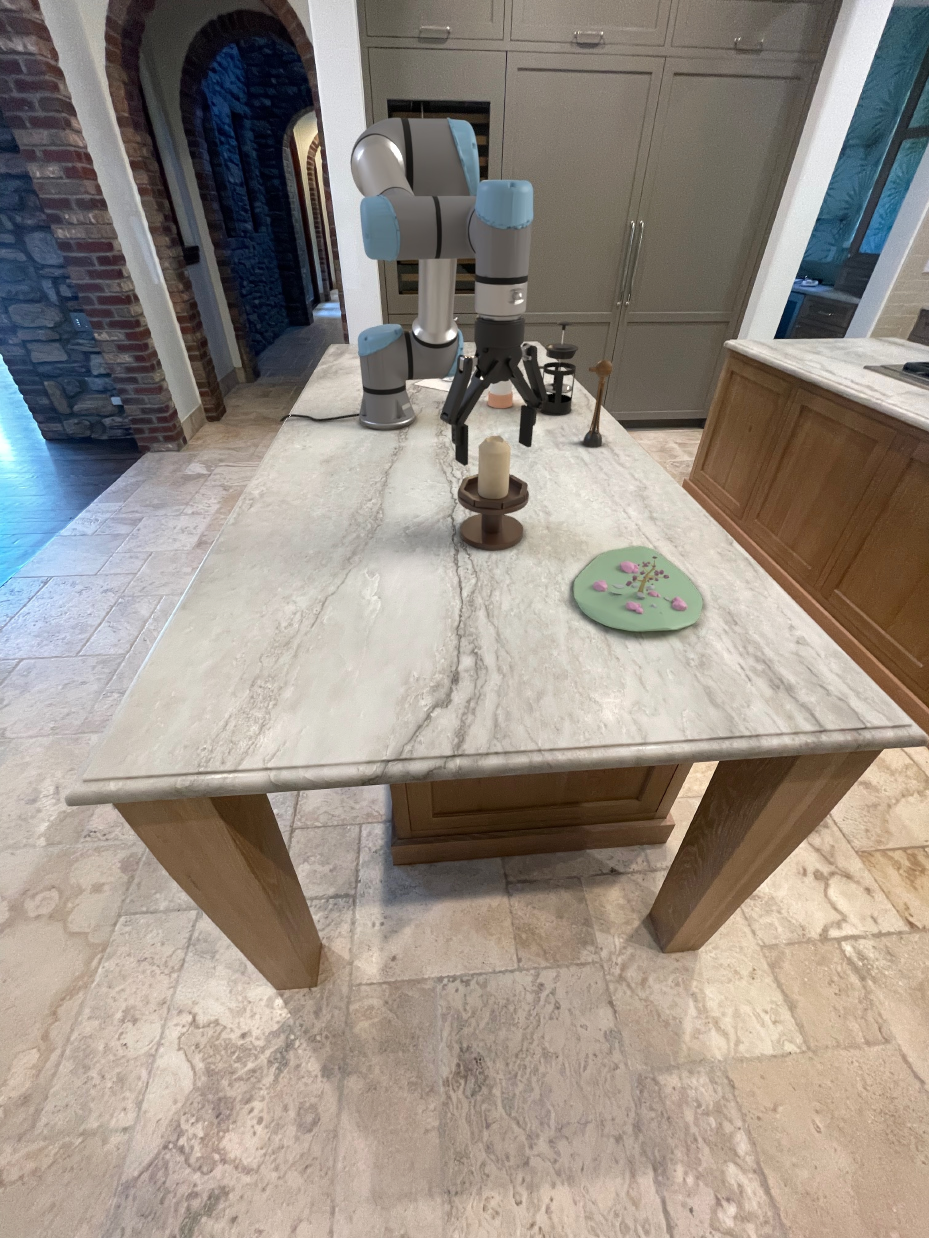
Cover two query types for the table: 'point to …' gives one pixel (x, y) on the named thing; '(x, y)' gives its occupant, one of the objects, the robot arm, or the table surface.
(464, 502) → the candle stand
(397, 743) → the table surface
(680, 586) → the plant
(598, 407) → the wooden tabletop sculpture
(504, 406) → the salt shaker
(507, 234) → the robot arm
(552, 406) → the french press
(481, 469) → the candle
